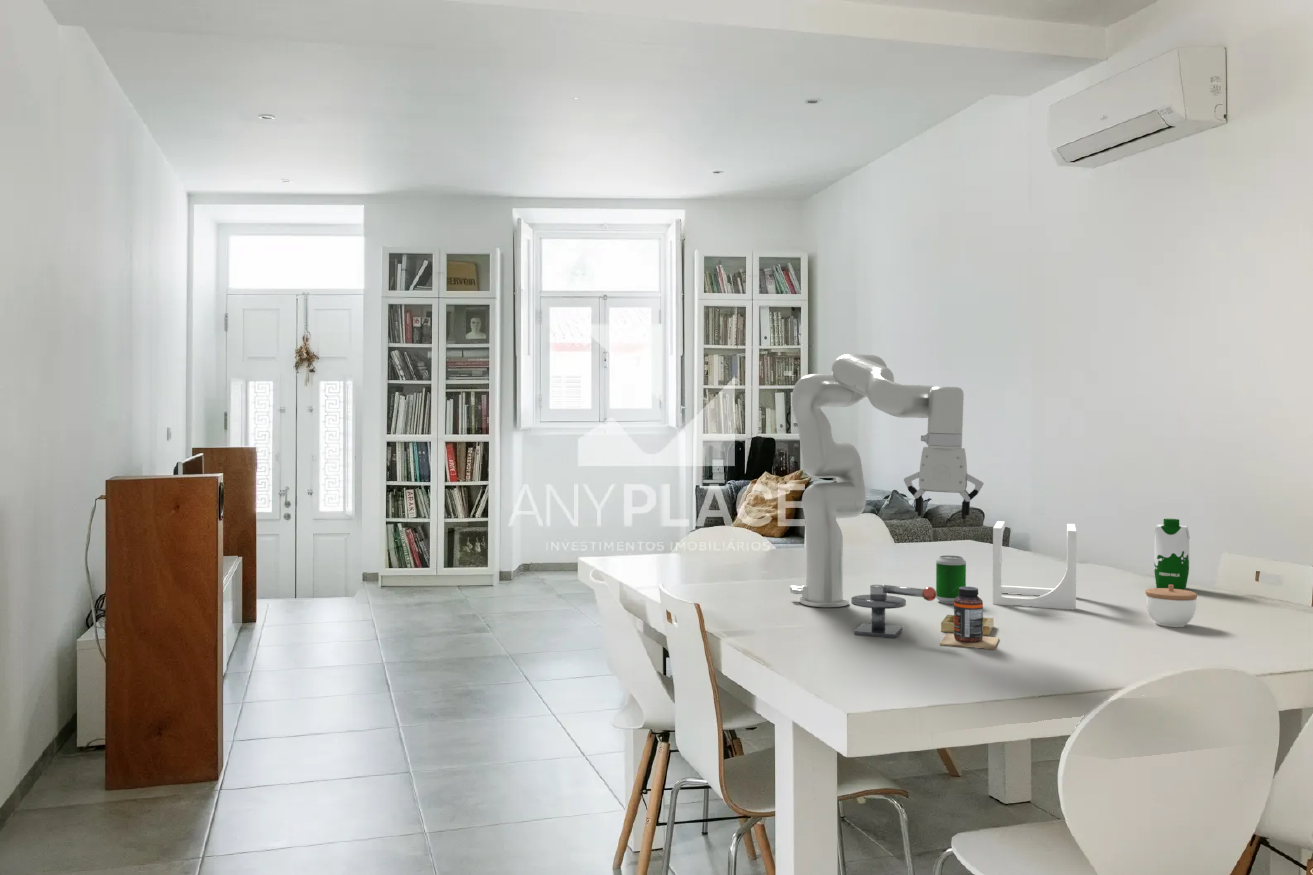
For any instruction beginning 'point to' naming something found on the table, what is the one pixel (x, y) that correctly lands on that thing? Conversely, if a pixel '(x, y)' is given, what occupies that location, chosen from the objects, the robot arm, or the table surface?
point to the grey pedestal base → (878, 626)
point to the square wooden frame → (948, 624)
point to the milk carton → (1171, 554)
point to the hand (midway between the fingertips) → (941, 517)
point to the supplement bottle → (968, 615)
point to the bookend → (1050, 597)
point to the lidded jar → (1171, 606)
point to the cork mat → (984, 643)
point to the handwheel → (884, 601)
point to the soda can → (949, 577)
